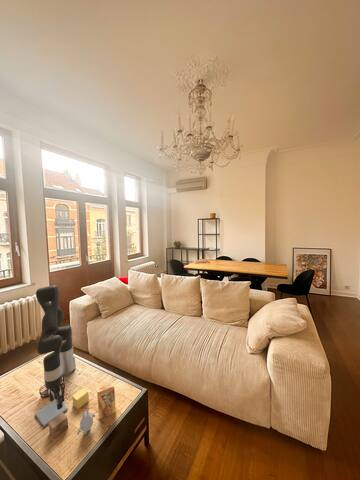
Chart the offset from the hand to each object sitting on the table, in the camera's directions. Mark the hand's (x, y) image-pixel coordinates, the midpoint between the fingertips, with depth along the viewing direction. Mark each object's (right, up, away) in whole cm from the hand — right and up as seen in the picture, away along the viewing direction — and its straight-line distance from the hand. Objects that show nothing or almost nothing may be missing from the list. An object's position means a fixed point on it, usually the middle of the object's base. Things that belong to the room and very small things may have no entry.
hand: (56, 404), depth 104 cm
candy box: (+23, -14, +10) cm, 28 cm away
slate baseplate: (-10, -14, +11) cm, 21 cm away
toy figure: (+16, -15, +1) cm, 22 cm away
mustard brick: (+4, -13, +17) cm, 22 cm away
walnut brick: (0, -15, +2) cm, 15 cm away
